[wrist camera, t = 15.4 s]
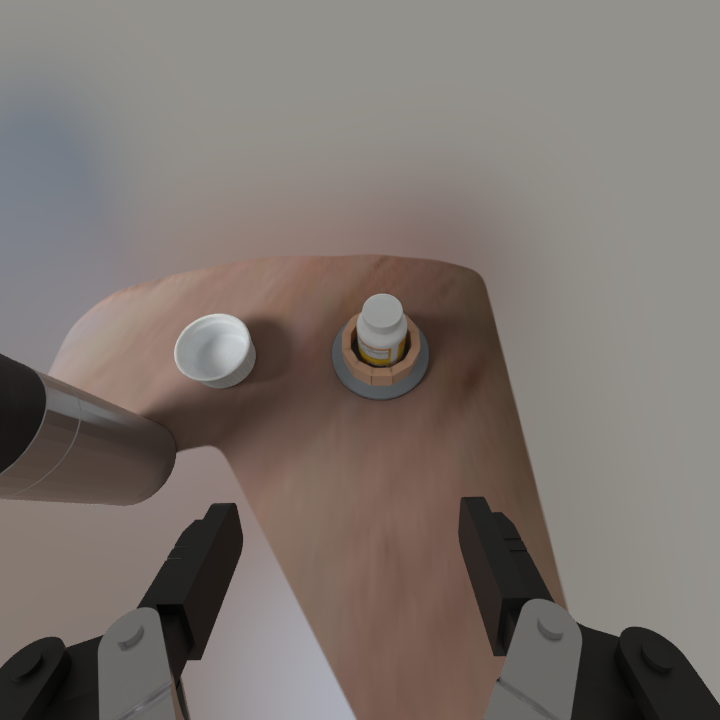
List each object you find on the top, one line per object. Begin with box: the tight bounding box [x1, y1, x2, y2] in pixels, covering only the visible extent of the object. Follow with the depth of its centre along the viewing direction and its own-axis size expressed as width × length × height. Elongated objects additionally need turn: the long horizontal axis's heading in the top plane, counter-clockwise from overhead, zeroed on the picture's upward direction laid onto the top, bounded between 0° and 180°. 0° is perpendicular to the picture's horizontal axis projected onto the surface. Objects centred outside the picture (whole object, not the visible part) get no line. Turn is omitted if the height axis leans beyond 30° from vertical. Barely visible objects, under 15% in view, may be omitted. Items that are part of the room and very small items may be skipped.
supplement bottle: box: [357, 294, 407, 368], centre depth 38 cm, size 5×5×10 cm
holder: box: [332, 312, 429, 400], centre depth 42 cm, size 12×12×4 cm
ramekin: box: [174, 314, 256, 388], centre depth 42 cm, size 9×9×4 cm
